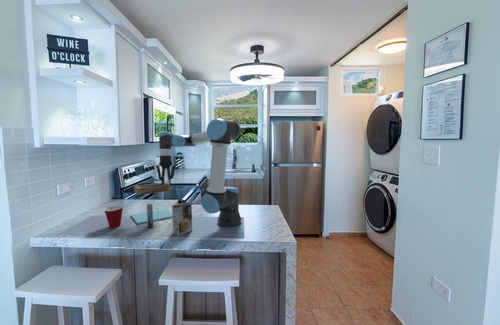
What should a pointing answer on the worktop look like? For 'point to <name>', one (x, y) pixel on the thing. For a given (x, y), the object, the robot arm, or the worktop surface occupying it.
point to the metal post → (150, 215)
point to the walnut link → (151, 188)
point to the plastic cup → (114, 215)
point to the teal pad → (157, 216)
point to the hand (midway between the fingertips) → (166, 189)
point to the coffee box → (182, 218)
